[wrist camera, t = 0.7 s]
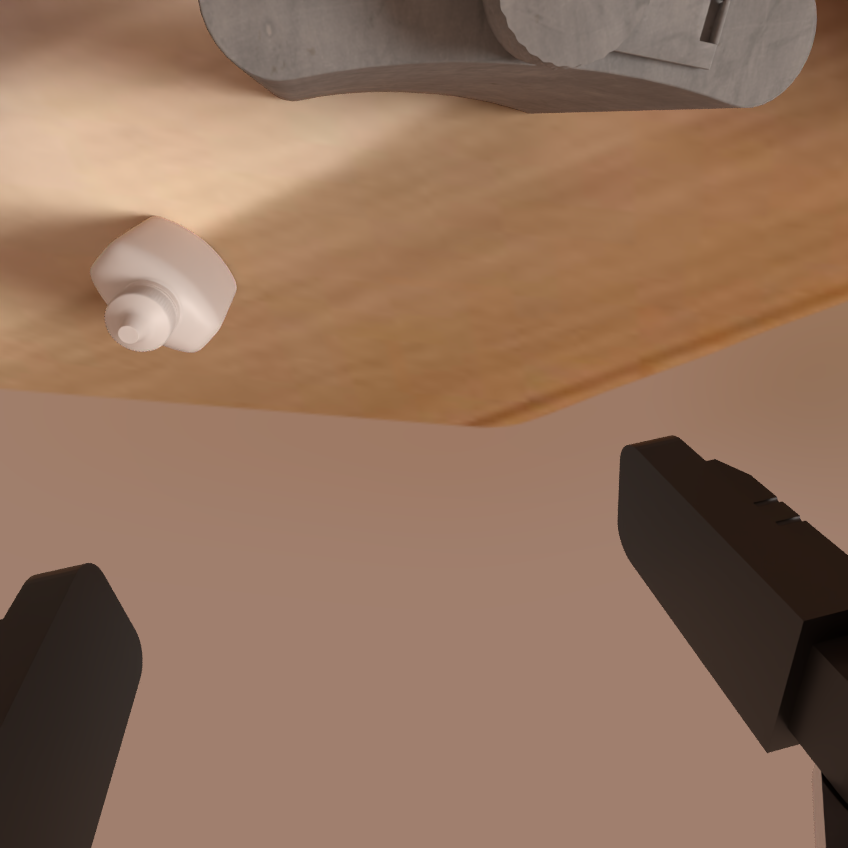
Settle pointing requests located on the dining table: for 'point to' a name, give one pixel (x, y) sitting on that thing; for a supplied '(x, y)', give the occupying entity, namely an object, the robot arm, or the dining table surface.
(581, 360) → the dining table surface
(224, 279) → the eye dropper bottle
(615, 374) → the dining table surface
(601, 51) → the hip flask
